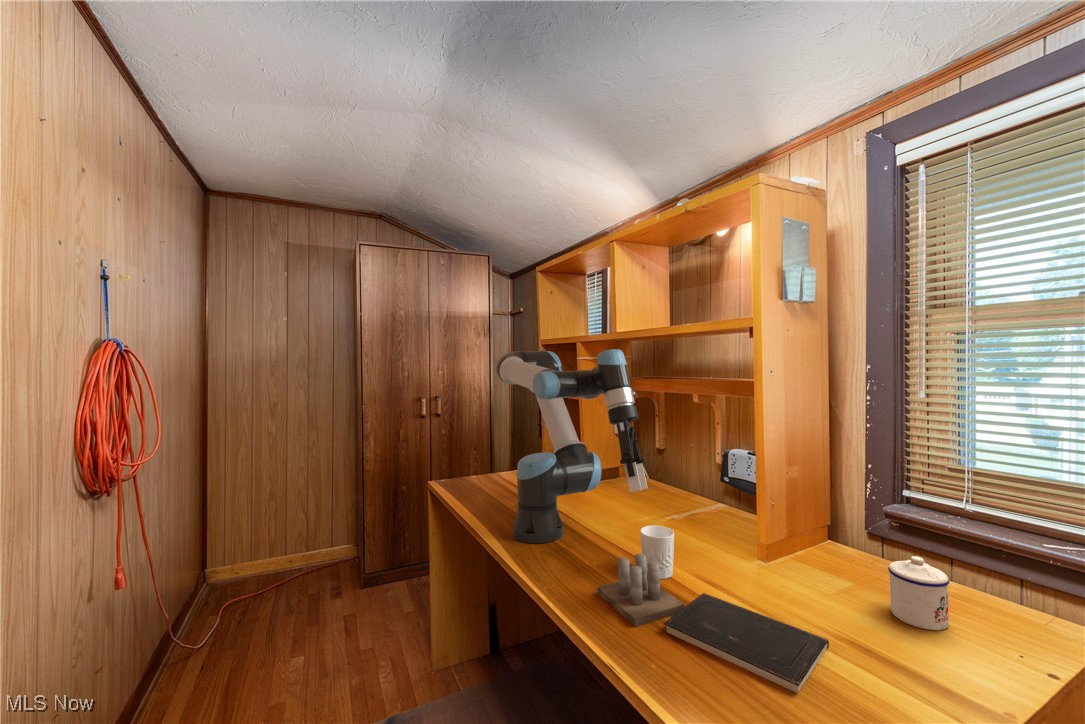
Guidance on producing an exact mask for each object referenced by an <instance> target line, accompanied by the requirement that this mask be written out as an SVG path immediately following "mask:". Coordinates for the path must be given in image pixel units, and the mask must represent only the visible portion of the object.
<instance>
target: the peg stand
mask: <svg viewBox="0 0 1085 724" xmlns="http://www.w3.org/2000/svg"><path fill="white" fill-rule="evenodd" d="M647 566H648V576H647ZM617 568H618V569H617V571H618V573H617V576H618V581H615V582H611V583H607V584H602V585H599V586H597V594H598V595H599V596H600V597H601V598H602V599H603V600H605V602H606V603H608V604H609V605H610V606H611V607H612V608H613V609H614V610H616V611H617V612H618V613H619V614H620V615H621V616H622V617H623V618H625V619H626V620H627V621H628V622H629V623H630V624H631V625H632V626H634V627H635V628H637V627H640V626H644V625H646V624H649V623H652V622H655V621H659V620H662V619H666V618H669V617H672V616H674V615H675V614H676V613H678V612H679V611H680V610H682V609H683V608H684V607H685V603H683V602H681V600H679V599H678V598H676V597H675V596H673V595H672V594H670V593H668V592H667V591H666V590H664V589H663V588H662V587H661V585H660V584H661V583H660V581H661V579H660V575H659V563H657V562H648V563H647V565H646V555H644V554H642V553H636V554H635V555H634V565H630V559H629V558H627V557H619V558H617Z"/></svg>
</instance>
